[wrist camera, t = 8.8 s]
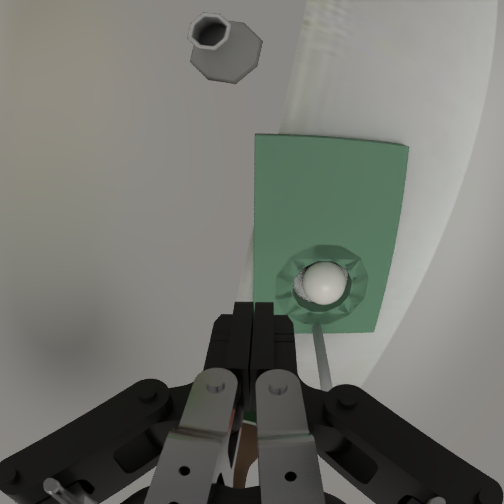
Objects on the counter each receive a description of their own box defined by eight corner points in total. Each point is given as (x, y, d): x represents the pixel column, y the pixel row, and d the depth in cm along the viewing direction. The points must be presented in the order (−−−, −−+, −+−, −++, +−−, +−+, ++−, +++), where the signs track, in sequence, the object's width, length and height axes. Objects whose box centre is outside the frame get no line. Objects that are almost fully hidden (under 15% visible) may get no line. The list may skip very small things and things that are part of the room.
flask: (275, 39, 27) (277, 13, 18) (239, 95, 30) (227, 92, 21) (213, 10, 26) (192, -23, 17) (179, 66, 29) (144, 54, 20)
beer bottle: (239, 351, 45) (221, 509, 23) (276, 377, 47) (275, 523, 25) (205, 374, 47) (177, 516, 26) (242, 397, 50) (229, 531, 28)
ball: (302, 313, 35) (299, 289, 40) (346, 313, 35) (338, 290, 39) (306, 273, 33) (302, 253, 37) (352, 274, 33) (343, 254, 37)
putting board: (255, 133, 32) (241, 165, 15) (401, 144, 31) (503, 189, 15) (254, 322, 42) (245, 439, 26) (370, 322, 42) (407, 430, 25)
